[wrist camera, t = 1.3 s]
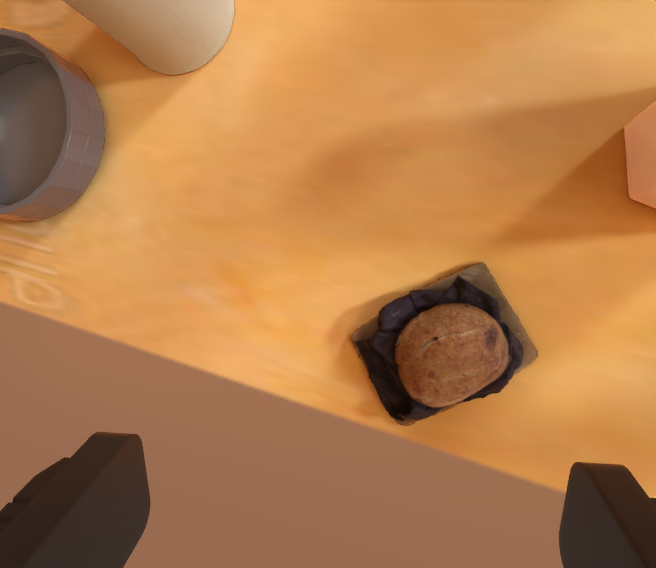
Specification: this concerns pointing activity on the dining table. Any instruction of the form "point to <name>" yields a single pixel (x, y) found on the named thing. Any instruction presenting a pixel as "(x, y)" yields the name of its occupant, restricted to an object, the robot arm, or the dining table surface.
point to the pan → (44, 129)
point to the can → (163, 29)
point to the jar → (642, 156)
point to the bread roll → (443, 345)
